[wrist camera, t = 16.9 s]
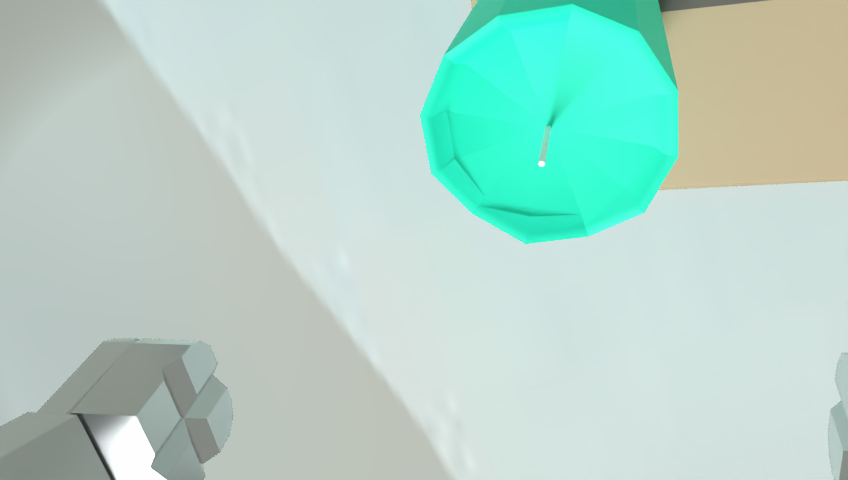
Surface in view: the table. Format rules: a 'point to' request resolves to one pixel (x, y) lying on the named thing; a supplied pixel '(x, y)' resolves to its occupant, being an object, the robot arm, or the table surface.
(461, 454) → the table surface
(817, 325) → the table surface
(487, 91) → the candle
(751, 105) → the tan flat wooden board
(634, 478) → the table surface
